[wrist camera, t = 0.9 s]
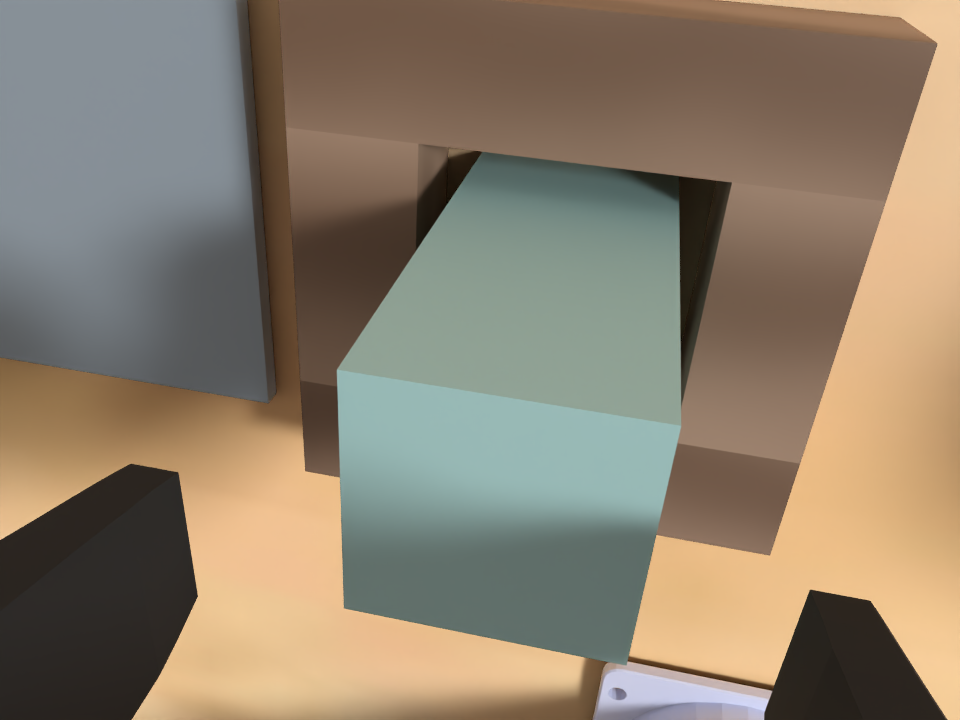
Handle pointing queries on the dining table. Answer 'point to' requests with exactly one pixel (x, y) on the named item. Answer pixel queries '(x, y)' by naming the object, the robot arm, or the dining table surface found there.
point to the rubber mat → (133, 194)
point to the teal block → (519, 410)
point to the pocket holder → (625, 145)
